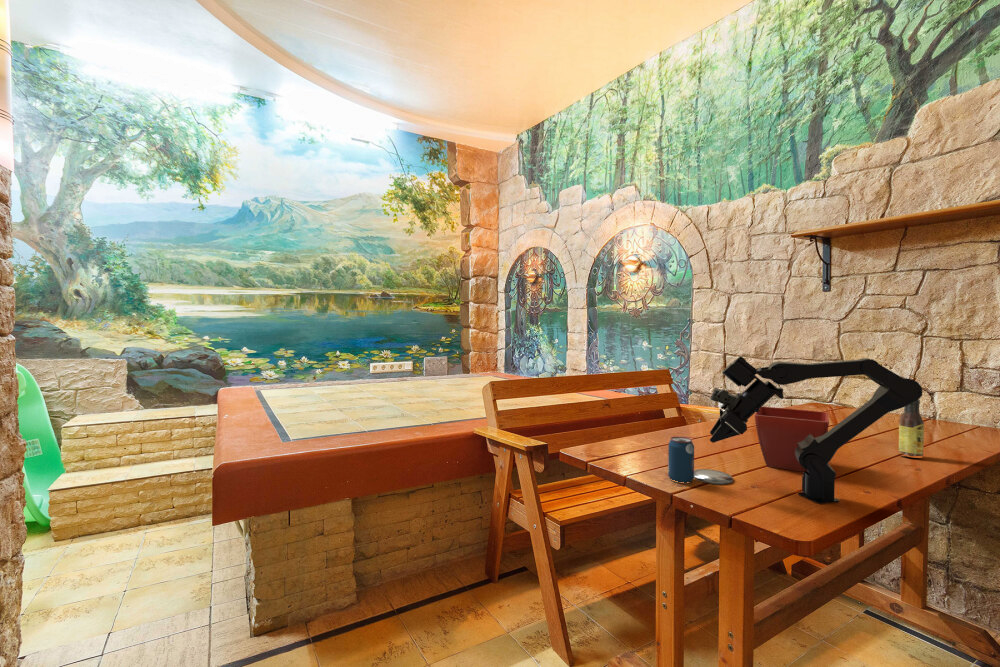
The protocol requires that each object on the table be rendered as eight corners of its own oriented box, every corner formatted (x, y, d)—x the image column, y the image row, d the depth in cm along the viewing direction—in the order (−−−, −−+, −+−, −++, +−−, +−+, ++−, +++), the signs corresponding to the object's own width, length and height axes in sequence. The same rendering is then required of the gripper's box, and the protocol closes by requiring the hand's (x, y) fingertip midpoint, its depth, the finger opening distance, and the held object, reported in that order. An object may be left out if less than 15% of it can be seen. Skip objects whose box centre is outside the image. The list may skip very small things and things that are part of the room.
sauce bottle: (922, 461, 148) (923, 401, 147) (897, 456, 153) (898, 399, 152) (924, 457, 152) (925, 399, 152) (900, 453, 157) (901, 396, 156)
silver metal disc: (741, 483, 126) (741, 480, 126) (707, 485, 124) (707, 482, 124) (715, 470, 137) (715, 467, 137) (683, 473, 135) (683, 470, 135)
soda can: (699, 483, 126) (699, 441, 126) (676, 485, 125) (676, 442, 125) (684, 475, 133) (685, 435, 133) (663, 476, 132) (663, 436, 131)
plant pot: (759, 453, 156) (760, 405, 156) (826, 463, 145) (827, 411, 145) (753, 467, 141) (754, 414, 140) (828, 479, 130) (829, 422, 129)
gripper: (726, 374, 132) (689, 411, 137) (729, 382, 116) (686, 423, 120) (759, 401, 129) (719, 438, 134) (766, 412, 112) (720, 454, 117)
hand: (711, 437), depth 126 cm, fingers open, 9 cm apart
